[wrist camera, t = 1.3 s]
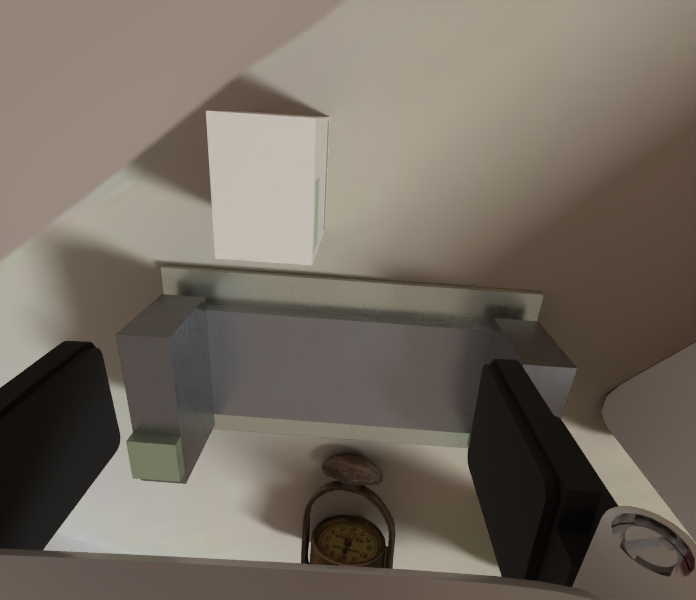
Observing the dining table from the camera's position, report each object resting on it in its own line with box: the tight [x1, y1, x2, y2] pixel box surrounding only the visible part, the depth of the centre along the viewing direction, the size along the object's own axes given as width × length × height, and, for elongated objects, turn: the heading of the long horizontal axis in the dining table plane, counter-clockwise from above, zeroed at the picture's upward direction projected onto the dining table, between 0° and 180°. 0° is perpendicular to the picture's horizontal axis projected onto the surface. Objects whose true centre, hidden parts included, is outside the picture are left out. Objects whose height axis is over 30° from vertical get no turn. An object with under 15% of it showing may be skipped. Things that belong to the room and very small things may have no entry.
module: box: [206, 111, 330, 265], centre depth 24 cm, size 7×5×8 cm
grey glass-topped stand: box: [116, 265, 577, 484], centre depth 30 cm, size 14×27×9 cm, turn 87°
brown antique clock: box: [301, 454, 395, 569], centre depth 36 cm, size 7×13×10 cm
